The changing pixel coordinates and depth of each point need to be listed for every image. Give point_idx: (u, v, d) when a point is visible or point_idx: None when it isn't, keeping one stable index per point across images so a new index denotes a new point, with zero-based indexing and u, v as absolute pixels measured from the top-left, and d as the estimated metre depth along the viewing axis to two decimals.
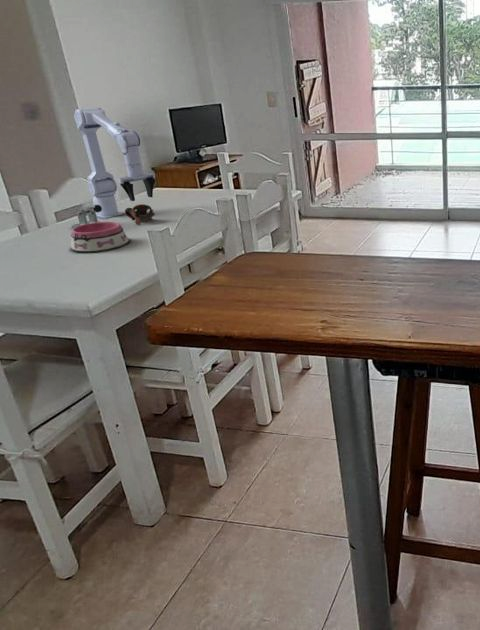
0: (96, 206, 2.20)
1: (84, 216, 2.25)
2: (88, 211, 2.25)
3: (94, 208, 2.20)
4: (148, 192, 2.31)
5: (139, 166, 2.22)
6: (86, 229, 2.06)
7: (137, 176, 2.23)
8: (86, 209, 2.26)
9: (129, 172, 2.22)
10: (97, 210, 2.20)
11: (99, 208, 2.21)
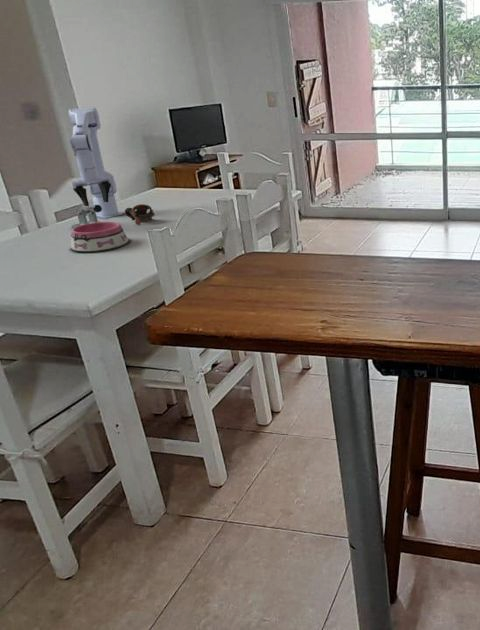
0: (96, 206, 2.20)
1: (84, 216, 2.25)
2: (88, 211, 2.25)
3: (94, 208, 2.20)
4: (104, 197, 2.23)
5: (93, 170, 2.14)
6: (86, 229, 2.06)
7: (90, 180, 2.15)
8: (86, 209, 2.26)
9: (82, 176, 2.14)
10: (97, 210, 2.20)
11: (99, 208, 2.21)
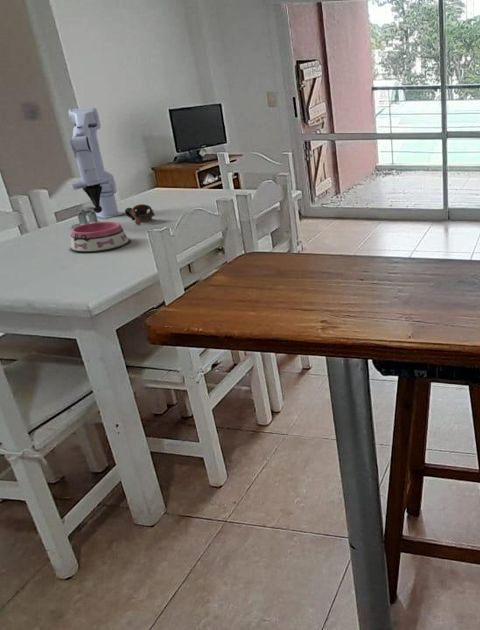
0: (96, 207, 2.20)
1: (84, 216, 2.25)
2: (88, 211, 2.25)
3: (94, 208, 2.20)
4: None
5: (93, 171, 2.15)
6: (86, 229, 2.06)
7: (91, 182, 2.15)
8: (86, 209, 2.26)
9: (82, 178, 2.14)
10: (97, 211, 2.20)
11: (99, 209, 2.21)
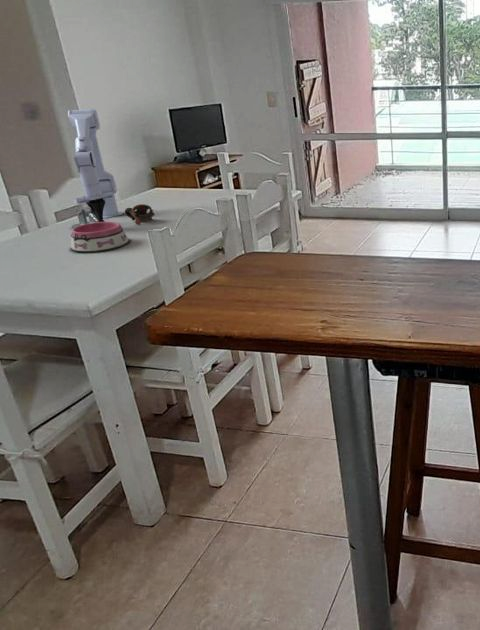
0: None
1: (84, 216, 2.25)
2: (89, 216, 2.26)
3: None
4: None
5: (96, 186, 2.17)
6: (86, 229, 2.06)
7: (94, 196, 2.17)
8: (87, 211, 2.26)
9: (86, 192, 2.17)
10: None
11: None
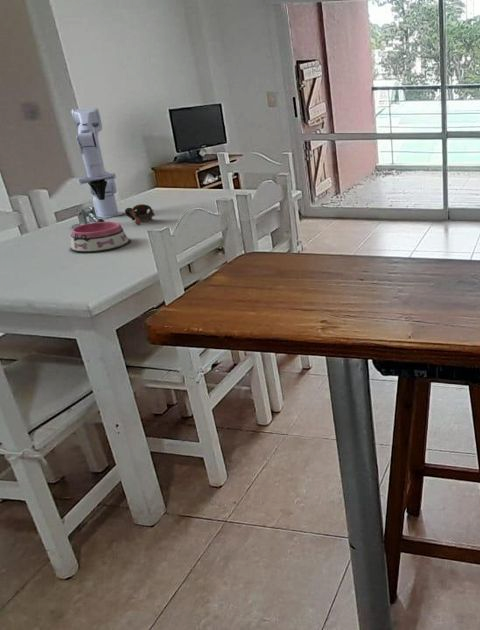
0: None
1: (84, 216, 2.25)
2: (89, 216, 2.26)
3: None
4: None
5: (98, 167, 2.22)
6: (86, 229, 2.06)
7: (96, 177, 2.22)
8: (87, 211, 2.26)
9: (88, 173, 2.22)
10: None
11: None
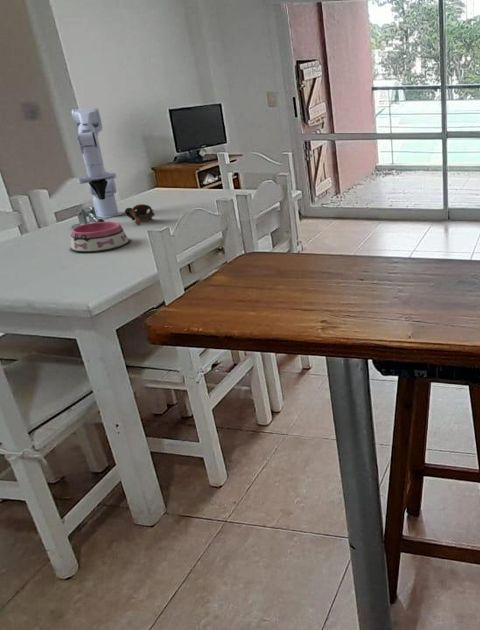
0: None
1: (84, 216, 2.25)
2: (89, 216, 2.26)
3: None
4: None
5: (98, 166, 2.22)
6: (86, 229, 2.06)
7: (96, 176, 2.23)
8: (87, 211, 2.26)
9: (88, 172, 2.22)
10: None
11: None
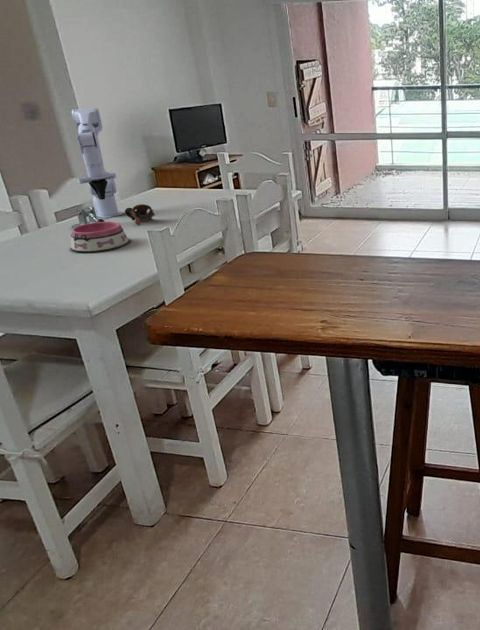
0: None
1: (84, 216, 2.25)
2: (89, 216, 2.26)
3: None
4: None
5: (98, 166, 2.22)
6: (86, 229, 2.06)
7: (96, 176, 2.23)
8: (87, 211, 2.26)
9: (88, 172, 2.22)
10: None
11: None
